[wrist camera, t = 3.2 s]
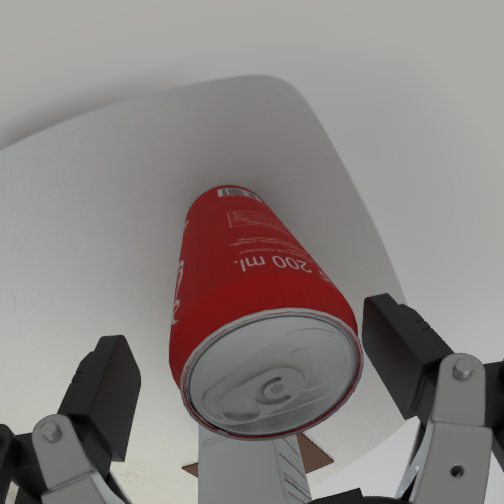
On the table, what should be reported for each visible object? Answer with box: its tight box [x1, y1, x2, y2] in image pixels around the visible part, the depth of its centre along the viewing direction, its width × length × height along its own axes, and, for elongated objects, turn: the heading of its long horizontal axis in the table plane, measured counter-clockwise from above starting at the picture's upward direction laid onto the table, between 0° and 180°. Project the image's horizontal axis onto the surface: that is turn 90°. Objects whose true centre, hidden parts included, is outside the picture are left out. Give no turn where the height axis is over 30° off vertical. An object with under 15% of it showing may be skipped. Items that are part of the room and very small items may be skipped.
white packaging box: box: [198, 424, 312, 504], centre depth 23 cm, size 7×7×13 cm
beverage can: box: [169, 185, 363, 441], centre depth 14 cm, size 6×6×15 cm
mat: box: [182, 433, 334, 478], centre depth 33 cm, size 16×12×1 cm
